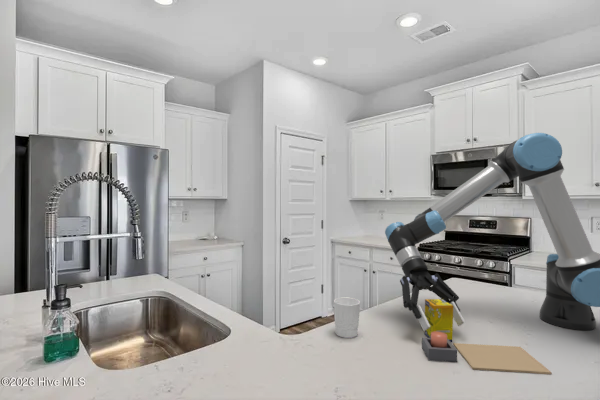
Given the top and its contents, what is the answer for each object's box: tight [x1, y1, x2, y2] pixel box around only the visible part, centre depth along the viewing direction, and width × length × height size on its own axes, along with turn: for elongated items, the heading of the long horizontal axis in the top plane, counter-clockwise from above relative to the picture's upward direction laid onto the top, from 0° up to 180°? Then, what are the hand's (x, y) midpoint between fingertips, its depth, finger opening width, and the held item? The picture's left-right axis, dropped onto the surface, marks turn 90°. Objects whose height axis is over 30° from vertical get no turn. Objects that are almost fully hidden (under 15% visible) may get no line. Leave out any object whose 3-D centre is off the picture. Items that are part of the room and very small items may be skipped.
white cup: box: [333, 296, 361, 339], centre depth 105 cm, size 8×8×10 cm
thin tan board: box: [452, 342, 552, 375], centre depth 90 cm, size 18×14×1 cm
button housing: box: [421, 337, 458, 363], centre depth 91 cm, size 7×7×3 cm
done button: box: [431, 331, 447, 348], centre depth 91 cm, size 4×4×4 cm
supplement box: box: [424, 298, 454, 343], centre depth 102 cm, size 6×6×11 cm
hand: (444, 326), depth 100 cm, fingers open, 12 cm apart
